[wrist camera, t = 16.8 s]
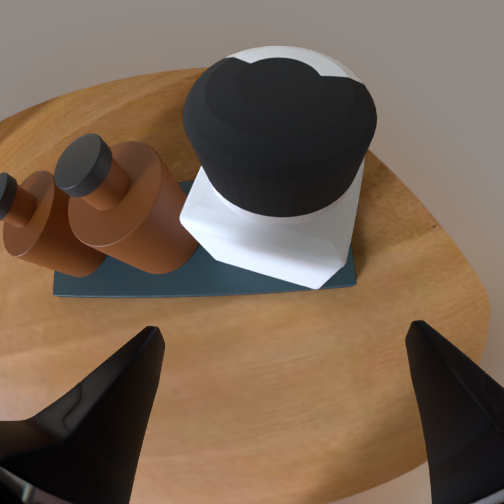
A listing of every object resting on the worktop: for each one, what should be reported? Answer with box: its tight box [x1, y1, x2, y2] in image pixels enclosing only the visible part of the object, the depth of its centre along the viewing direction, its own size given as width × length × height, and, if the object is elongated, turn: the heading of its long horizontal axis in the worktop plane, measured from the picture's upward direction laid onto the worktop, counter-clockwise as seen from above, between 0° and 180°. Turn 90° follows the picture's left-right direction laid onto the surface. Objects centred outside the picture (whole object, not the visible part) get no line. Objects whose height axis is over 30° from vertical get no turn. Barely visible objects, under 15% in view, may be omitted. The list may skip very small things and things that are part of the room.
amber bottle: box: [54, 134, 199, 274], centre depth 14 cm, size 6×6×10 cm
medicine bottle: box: [180, 46, 377, 289], centre depth 12 cm, size 7×7×12 cm
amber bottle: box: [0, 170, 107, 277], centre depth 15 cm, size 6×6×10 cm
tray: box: [53, 180, 356, 298], centre depth 19 cm, size 8×24×1 cm, turn 93°
